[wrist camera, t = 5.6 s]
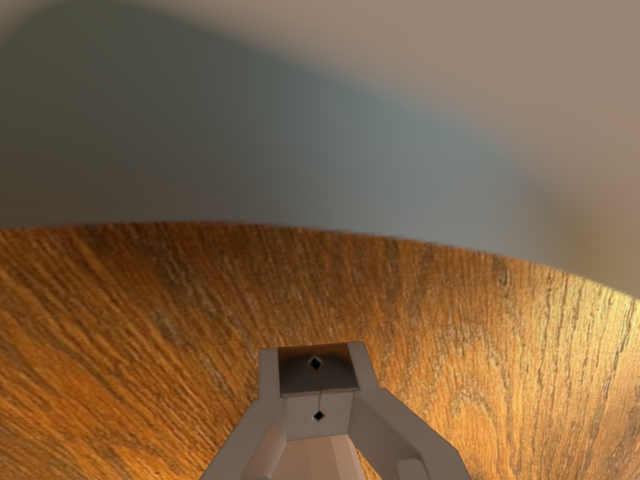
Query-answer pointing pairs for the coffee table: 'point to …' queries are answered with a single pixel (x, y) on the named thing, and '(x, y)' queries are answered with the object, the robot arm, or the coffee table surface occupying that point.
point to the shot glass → (319, 460)
